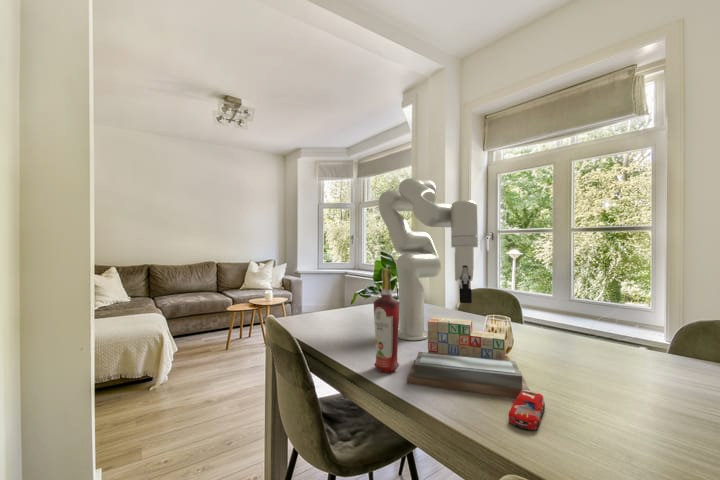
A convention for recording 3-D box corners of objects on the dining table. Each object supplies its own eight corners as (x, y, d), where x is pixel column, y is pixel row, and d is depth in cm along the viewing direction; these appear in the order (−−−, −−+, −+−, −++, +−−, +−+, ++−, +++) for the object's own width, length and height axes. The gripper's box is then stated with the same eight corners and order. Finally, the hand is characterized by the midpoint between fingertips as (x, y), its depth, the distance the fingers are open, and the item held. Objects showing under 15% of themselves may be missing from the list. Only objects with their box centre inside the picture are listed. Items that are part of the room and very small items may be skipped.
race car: (536, 437, 59) (536, 415, 59) (505, 426, 63) (504, 406, 63) (548, 408, 70) (548, 389, 70) (521, 400, 73) (520, 382, 73)
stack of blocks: (505, 365, 94) (505, 323, 94) (505, 373, 88) (504, 328, 88) (432, 354, 103) (432, 316, 103) (427, 361, 97) (427, 320, 97)
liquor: (368, 370, 90) (368, 269, 90) (382, 362, 96) (382, 268, 96) (390, 377, 85) (390, 271, 86) (404, 368, 91) (404, 269, 91)
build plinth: (414, 365, 94) (414, 349, 94) (520, 376, 85) (520, 359, 85) (407, 383, 81) (407, 365, 81) (530, 399, 73) (530, 378, 73)
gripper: (451, 243, 105) (452, 295, 105) (450, 242, 89) (451, 304, 88) (476, 242, 103) (477, 296, 103) (479, 241, 87) (480, 305, 86)
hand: (465, 300), depth 96 cm, fingers open, 9 cm apart
